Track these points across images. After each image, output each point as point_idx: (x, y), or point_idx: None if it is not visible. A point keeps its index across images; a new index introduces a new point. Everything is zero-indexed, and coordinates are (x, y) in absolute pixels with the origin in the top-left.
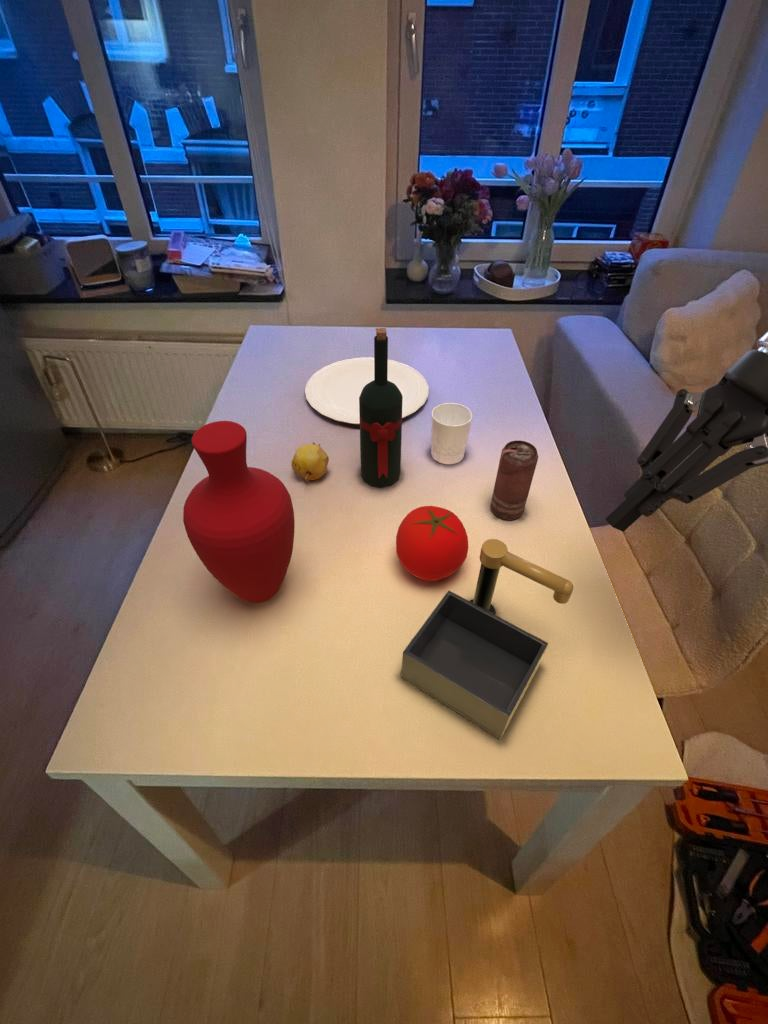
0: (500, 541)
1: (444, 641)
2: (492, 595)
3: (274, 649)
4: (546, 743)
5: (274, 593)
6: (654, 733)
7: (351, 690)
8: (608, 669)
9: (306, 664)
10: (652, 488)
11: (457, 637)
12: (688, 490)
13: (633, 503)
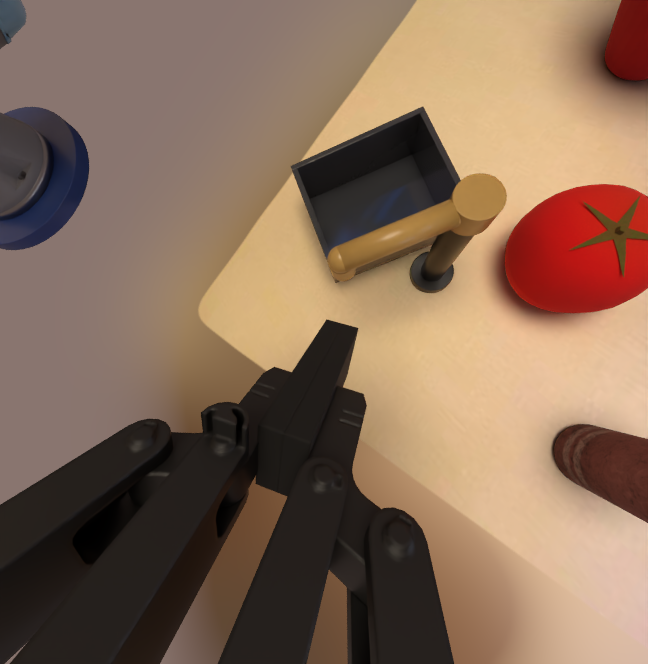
0: (487, 217)
1: (421, 210)
2: (430, 257)
3: (525, 51)
4: (276, 235)
5: (610, 56)
6: (221, 329)
7: (430, 105)
8: (289, 348)
9: (486, 75)
10: (264, 420)
11: None
12: (85, 460)
13: (307, 366)
